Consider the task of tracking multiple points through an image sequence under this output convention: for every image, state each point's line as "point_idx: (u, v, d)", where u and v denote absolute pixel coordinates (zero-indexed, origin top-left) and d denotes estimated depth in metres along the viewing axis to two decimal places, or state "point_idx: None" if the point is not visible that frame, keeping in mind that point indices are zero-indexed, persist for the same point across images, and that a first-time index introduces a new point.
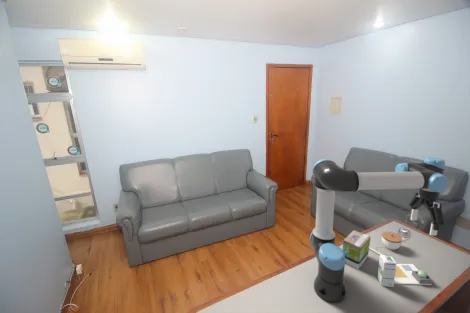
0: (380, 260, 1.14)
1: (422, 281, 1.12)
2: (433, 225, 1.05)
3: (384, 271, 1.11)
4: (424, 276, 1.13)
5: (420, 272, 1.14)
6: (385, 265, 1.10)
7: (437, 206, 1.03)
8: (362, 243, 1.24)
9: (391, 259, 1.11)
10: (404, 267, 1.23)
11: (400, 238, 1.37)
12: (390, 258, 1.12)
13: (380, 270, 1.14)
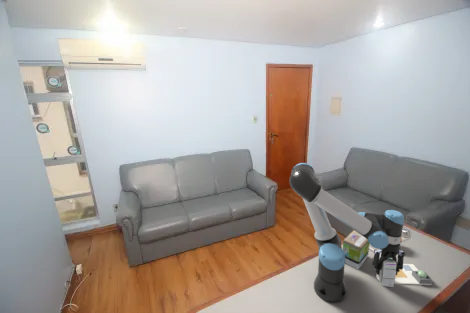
0: None
1: (422, 281, 1.12)
2: None
3: (384, 271, 1.11)
4: (424, 276, 1.13)
5: (420, 272, 1.14)
6: (385, 265, 1.10)
7: (374, 252, 1.12)
8: (362, 243, 1.24)
9: (391, 259, 1.11)
10: (404, 267, 1.23)
11: None
12: (390, 258, 1.12)
13: None
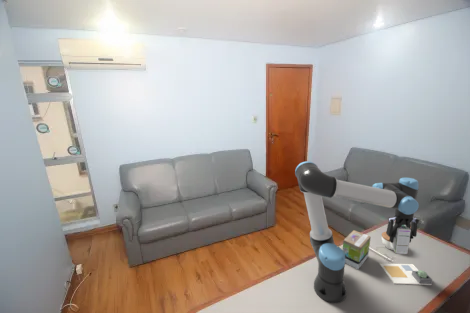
0: None
1: (422, 281, 1.12)
2: None
3: (398, 238, 1.13)
4: (424, 276, 1.13)
5: (420, 272, 1.14)
6: (399, 232, 1.12)
7: (389, 220, 1.14)
8: (362, 243, 1.24)
9: (405, 226, 1.13)
10: (404, 267, 1.23)
11: None
12: (404, 226, 1.14)
13: None
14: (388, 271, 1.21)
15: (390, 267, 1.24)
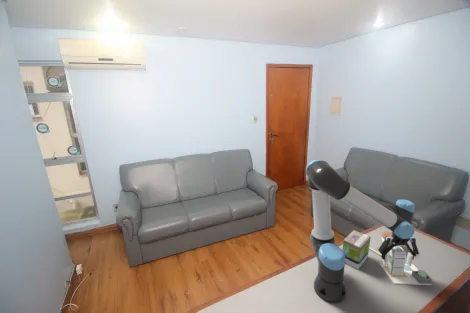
0: (390, 250, 1.19)
1: (422, 281, 1.12)
2: None
3: (395, 261, 1.16)
4: (424, 276, 1.13)
5: (420, 272, 1.14)
6: (396, 255, 1.15)
7: (385, 238, 1.17)
8: (362, 243, 1.24)
9: (401, 249, 1.17)
10: (404, 267, 1.23)
11: None
12: (400, 248, 1.17)
13: (390, 260, 1.20)
14: (388, 271, 1.21)
15: None
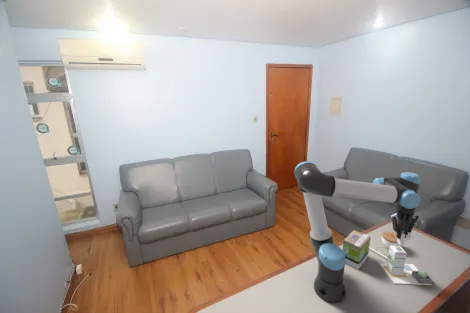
0: (390, 250, 1.19)
1: (422, 281, 1.12)
2: None
3: (395, 261, 1.16)
4: (424, 276, 1.13)
5: (420, 272, 1.14)
6: (396, 255, 1.15)
7: (391, 217, 1.13)
8: (362, 243, 1.24)
9: (401, 249, 1.17)
10: (404, 267, 1.23)
11: None
12: (400, 248, 1.17)
13: (390, 260, 1.20)
14: (388, 271, 1.21)
15: None
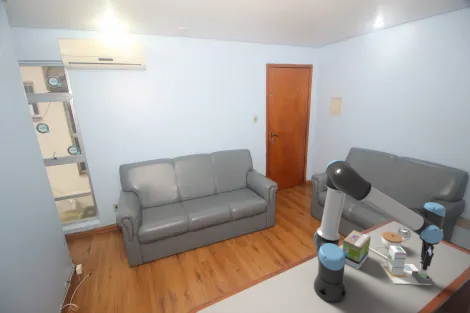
0: (390, 250, 1.19)
1: (422, 281, 1.12)
2: (422, 264, 1.13)
3: (395, 261, 1.16)
4: (424, 277, 1.13)
5: None
6: (396, 255, 1.15)
7: (428, 254, 1.06)
8: (362, 243, 1.24)
9: (401, 249, 1.17)
10: (404, 267, 1.23)
11: (400, 238, 1.37)
12: (400, 248, 1.17)
13: (390, 260, 1.20)
14: (388, 271, 1.21)
15: None
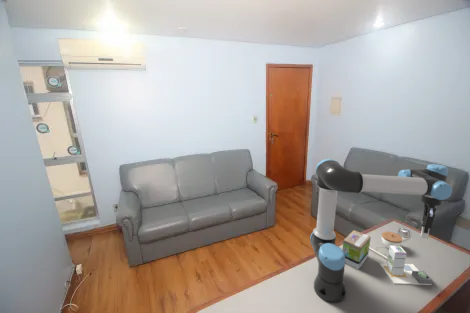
0: (390, 250, 1.19)
1: (422, 281, 1.12)
2: (423, 228, 1.13)
3: (395, 261, 1.16)
4: (424, 277, 1.13)
5: (420, 274, 1.14)
6: (396, 255, 1.15)
7: (429, 215, 1.06)
8: (362, 243, 1.24)
9: (401, 249, 1.17)
10: (404, 267, 1.23)
11: (400, 238, 1.37)
12: (400, 248, 1.17)
13: (390, 260, 1.20)
14: (388, 271, 1.21)
15: None
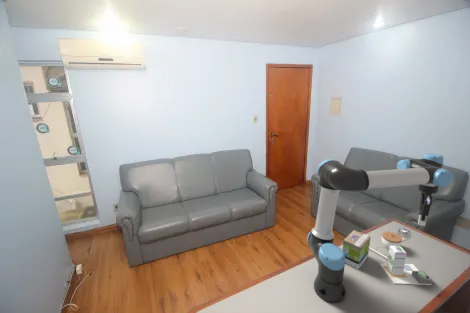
0: (390, 250, 1.19)
1: (422, 281, 1.12)
2: (420, 216, 1.17)
3: (395, 261, 1.16)
4: (424, 277, 1.13)
5: (420, 274, 1.14)
6: (396, 255, 1.15)
7: (426, 203, 1.10)
8: (362, 243, 1.24)
9: (401, 249, 1.17)
10: (404, 267, 1.23)
11: (400, 238, 1.37)
12: (400, 248, 1.17)
13: (390, 260, 1.20)
14: (388, 271, 1.21)
15: None
